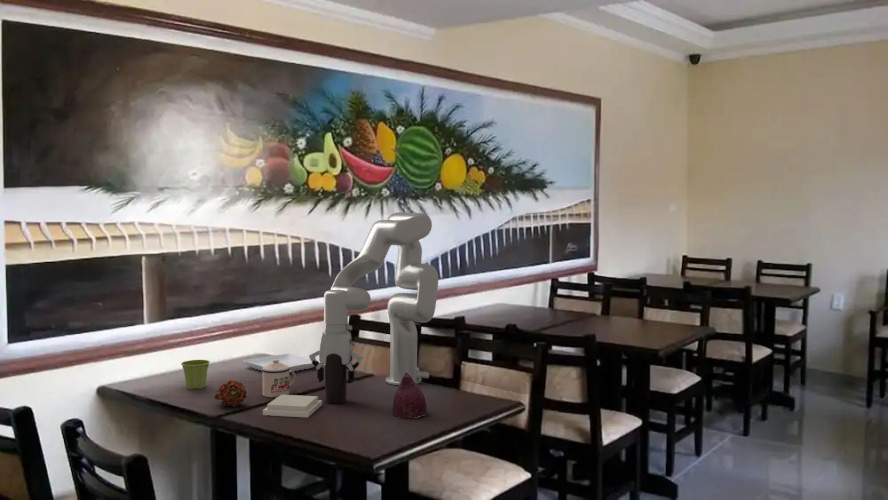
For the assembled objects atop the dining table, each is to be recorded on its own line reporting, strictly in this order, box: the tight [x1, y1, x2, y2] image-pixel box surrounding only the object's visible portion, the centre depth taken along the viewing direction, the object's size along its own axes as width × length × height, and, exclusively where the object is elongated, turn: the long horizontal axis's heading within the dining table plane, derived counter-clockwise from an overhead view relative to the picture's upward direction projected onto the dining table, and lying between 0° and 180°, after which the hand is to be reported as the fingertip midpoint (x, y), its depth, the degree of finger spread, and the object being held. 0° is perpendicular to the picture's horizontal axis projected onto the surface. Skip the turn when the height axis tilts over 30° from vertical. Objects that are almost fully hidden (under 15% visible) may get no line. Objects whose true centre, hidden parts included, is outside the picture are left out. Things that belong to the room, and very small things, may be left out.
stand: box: [262, 394, 323, 419], centre depth 235 cm, size 14×14×3 cm
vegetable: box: [391, 372, 428, 419], centre depth 230 cm, size 10×10×15 cm
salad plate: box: [243, 353, 320, 372], centre depth 292 cm, size 21×21×3 cm
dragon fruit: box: [213, 379, 248, 408], centre depth 240 cm, size 8×8×12 cm
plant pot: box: [180, 359, 211, 390], centre depth 262 cm, size 9×9×9 cm
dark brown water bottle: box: [324, 353, 348, 405], centre depth 245 cm, size 7×7×20 cm
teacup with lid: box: [261, 359, 297, 399], centre depth 254 cm, size 12×9×12 cm
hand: (335, 381), depth 245 cm, fingers open, 9 cm apart
